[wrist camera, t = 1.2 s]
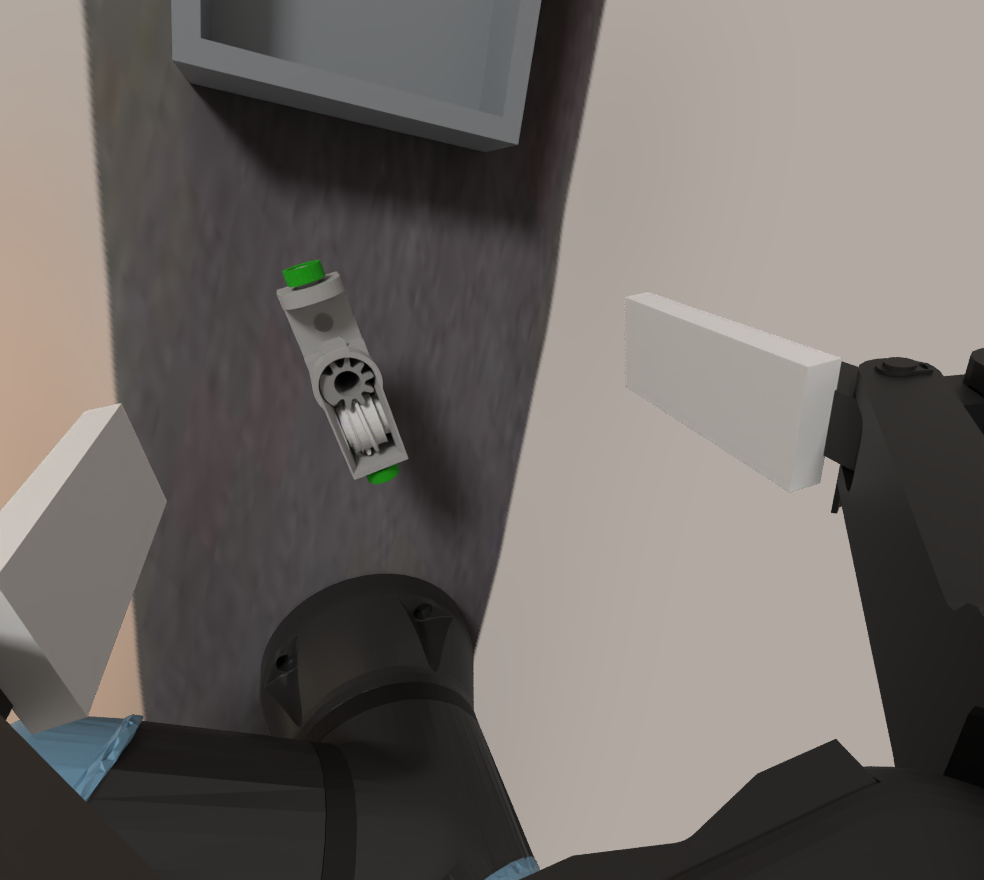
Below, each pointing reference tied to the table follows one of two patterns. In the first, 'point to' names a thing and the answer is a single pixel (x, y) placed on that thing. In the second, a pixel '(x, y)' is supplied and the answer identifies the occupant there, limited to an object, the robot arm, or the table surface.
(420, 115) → the bin
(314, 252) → the table surface
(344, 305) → the mechanical component
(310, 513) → the table surface
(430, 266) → the table surface
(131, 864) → the robot arm
